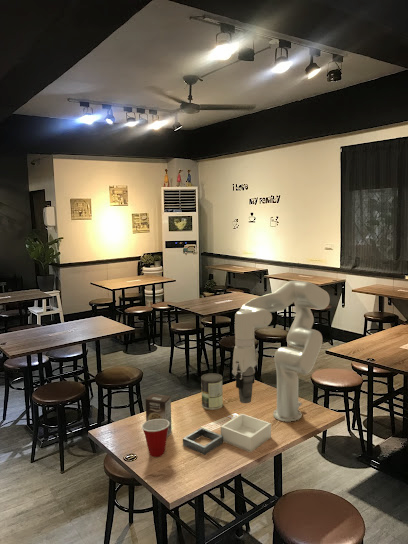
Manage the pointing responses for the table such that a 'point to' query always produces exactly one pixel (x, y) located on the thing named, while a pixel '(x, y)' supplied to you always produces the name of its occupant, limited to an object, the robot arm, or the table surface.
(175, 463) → the table surface
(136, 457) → the table surface
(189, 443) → the holder
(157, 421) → the plastic cup
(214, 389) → the coffee can
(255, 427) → the bin
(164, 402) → the coffee box
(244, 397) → the beverage cup
